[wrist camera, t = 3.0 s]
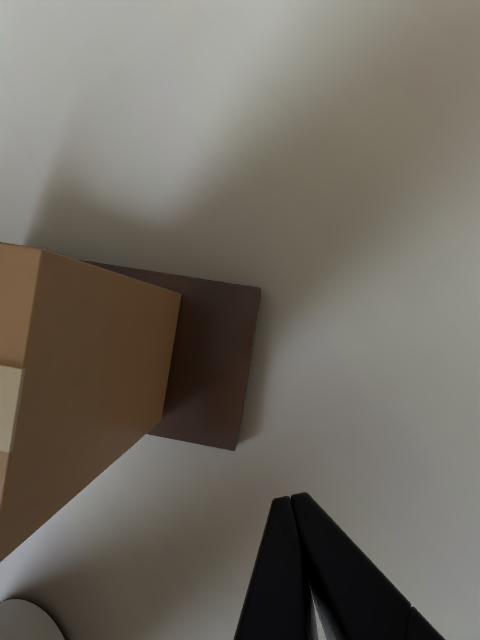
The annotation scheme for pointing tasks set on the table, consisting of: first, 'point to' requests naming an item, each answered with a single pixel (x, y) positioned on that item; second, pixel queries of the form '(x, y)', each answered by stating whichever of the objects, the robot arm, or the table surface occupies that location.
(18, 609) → the travel mug
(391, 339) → the table surface
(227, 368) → the ramp
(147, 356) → the carton
